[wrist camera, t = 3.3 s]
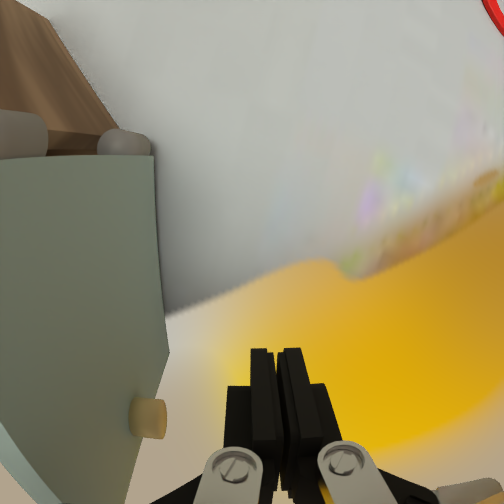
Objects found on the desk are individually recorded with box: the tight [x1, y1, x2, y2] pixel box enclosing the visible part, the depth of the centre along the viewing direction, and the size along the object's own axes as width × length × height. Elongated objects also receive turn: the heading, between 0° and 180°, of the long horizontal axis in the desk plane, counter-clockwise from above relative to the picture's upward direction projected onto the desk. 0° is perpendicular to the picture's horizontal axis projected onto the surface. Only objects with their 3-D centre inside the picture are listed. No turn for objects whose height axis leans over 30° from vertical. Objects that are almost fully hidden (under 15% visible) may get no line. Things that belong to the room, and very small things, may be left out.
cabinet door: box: [0, 109, 170, 504], centre depth 10 cm, size 13×3×13 cm, turn 0°
